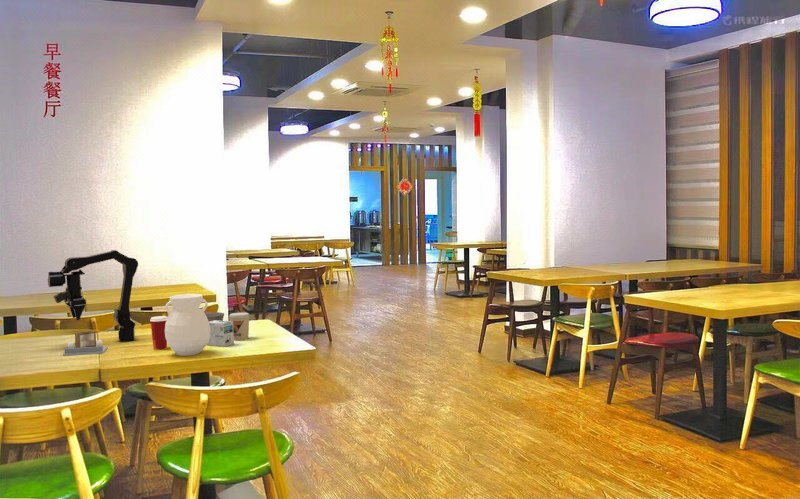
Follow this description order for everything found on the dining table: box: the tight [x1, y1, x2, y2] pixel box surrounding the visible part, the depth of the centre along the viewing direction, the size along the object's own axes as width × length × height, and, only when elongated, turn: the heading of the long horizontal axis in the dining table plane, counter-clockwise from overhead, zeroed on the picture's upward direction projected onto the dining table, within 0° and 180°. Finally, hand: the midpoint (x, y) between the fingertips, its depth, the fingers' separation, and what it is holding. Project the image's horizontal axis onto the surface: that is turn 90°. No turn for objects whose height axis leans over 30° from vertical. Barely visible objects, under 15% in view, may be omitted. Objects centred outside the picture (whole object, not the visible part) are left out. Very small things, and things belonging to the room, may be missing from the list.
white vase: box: [164, 293, 210, 357], centre depth 289 cm, size 19×18×25 cm
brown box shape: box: [74, 330, 97, 348], centre depth 308 cm, size 8×3×7 cm, turn 140°
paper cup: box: [149, 315, 168, 351], centre depth 303 cm, size 8×8×14 cm
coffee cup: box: [228, 312, 250, 341], centre depth 322 cm, size 9×9×12 cm
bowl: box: [204, 311, 225, 321], centre depth 338 cm, size 21×21×10 cm
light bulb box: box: [206, 320, 235, 348], centre depth 308 cm, size 11×7×11 cm, turn 65°
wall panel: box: [62, 339, 108, 357], centre depth 298 cm, size 16×11×5 cm
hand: (76, 318), depth 311 cm, fingers open, 9 cm apart
